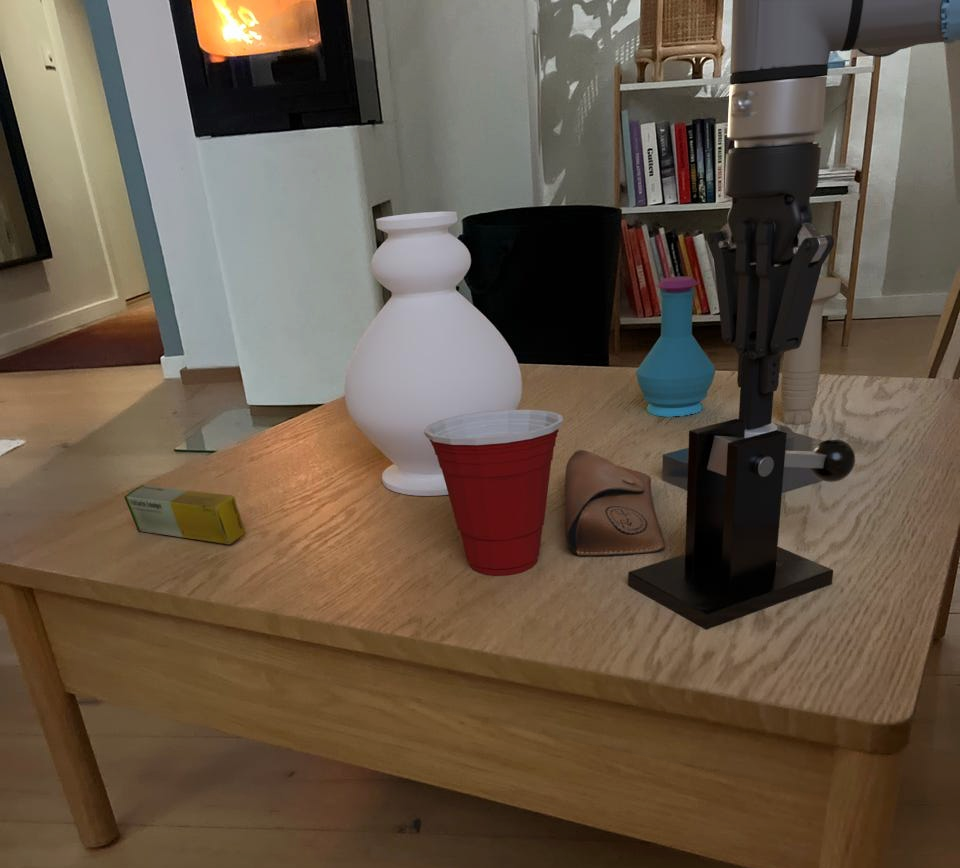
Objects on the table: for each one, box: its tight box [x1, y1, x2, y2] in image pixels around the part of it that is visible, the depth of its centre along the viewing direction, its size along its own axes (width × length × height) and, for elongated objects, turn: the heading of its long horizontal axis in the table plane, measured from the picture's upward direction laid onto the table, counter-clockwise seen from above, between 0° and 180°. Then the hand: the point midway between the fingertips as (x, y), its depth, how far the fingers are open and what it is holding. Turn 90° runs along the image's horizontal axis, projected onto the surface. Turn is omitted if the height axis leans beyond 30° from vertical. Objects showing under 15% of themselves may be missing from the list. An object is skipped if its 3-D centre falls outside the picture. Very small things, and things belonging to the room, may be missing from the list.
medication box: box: [124, 484, 247, 545], centre depth 87 cm, size 12×3×4 cm, turn 61°
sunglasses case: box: [564, 449, 666, 557], centre depth 84 cm, size 18×7×7 cm, turn 176°
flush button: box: [744, 422, 778, 438], centre depth 89 cm, size 4×4×2 cm
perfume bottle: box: [636, 275, 716, 418], centre depth 110 cm, size 9×9×15 cm
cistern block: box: [661, 422, 824, 494], centre depth 90 cm, size 14×10×4 cm
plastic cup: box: [424, 409, 564, 577], centre depth 75 cm, size 11×11×12 cm
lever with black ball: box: [707, 436, 856, 483], centre depth 68 cm, size 13×3×3 cm, turn 119°
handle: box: [780, 276, 842, 426], centre depth 102 cm, size 5×6×15 cm
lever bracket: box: [627, 418, 834, 630], centre depth 68 cm, size 12×9×12 cm
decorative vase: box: [343, 211, 523, 497], centre depth 92 cm, size 18×18×25 cm
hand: (754, 424), depth 88 cm, fingers closed
